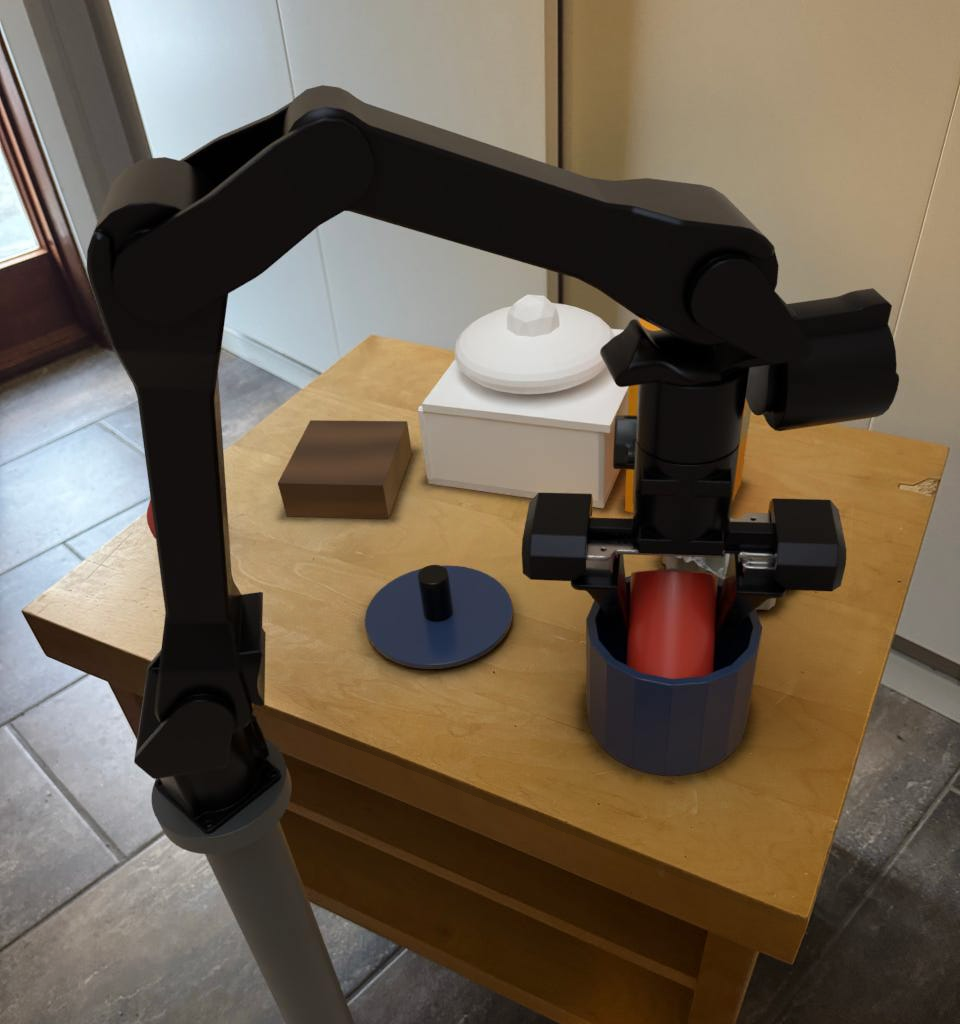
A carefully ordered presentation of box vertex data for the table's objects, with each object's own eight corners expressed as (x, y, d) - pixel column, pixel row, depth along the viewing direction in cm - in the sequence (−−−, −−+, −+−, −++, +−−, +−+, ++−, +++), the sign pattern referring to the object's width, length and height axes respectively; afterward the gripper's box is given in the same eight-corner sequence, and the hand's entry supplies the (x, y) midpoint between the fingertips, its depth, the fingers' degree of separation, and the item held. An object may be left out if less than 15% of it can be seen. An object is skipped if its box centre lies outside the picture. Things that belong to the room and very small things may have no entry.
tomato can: (683, 683, 59) (689, 569, 59) (608, 678, 63) (614, 571, 63) (728, 684, 63) (733, 577, 63) (655, 679, 67) (660, 579, 67)
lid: (441, 697, 73) (433, 649, 69) (336, 631, 79) (325, 583, 75) (543, 613, 79) (541, 564, 75) (438, 557, 85) (432, 510, 81)
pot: (687, 803, 64) (697, 711, 58) (556, 723, 70) (552, 633, 64) (775, 705, 69) (793, 612, 63) (647, 639, 75) (652, 548, 69)
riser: (388, 519, 90) (382, 485, 87) (286, 516, 91) (277, 482, 89) (412, 454, 98) (407, 421, 95) (317, 452, 99) (310, 420, 97)
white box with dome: (487, 394, 105) (475, 247, 94) (650, 412, 100) (658, 259, 89) (427, 484, 93) (405, 329, 82) (608, 510, 88) (611, 348, 77)
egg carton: (808, 578, 79) (817, 539, 76) (756, 625, 76) (762, 586, 73) (701, 528, 85) (705, 489, 82) (647, 569, 81) (650, 530, 79)
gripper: (845, 367, 58) (804, 568, 69) (536, 366, 61) (543, 558, 72) (871, 471, 50) (820, 680, 61) (515, 464, 53) (526, 664, 64)
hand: (670, 639), depth 64 cm, fingers closed on tomato can, 5 cm apart
